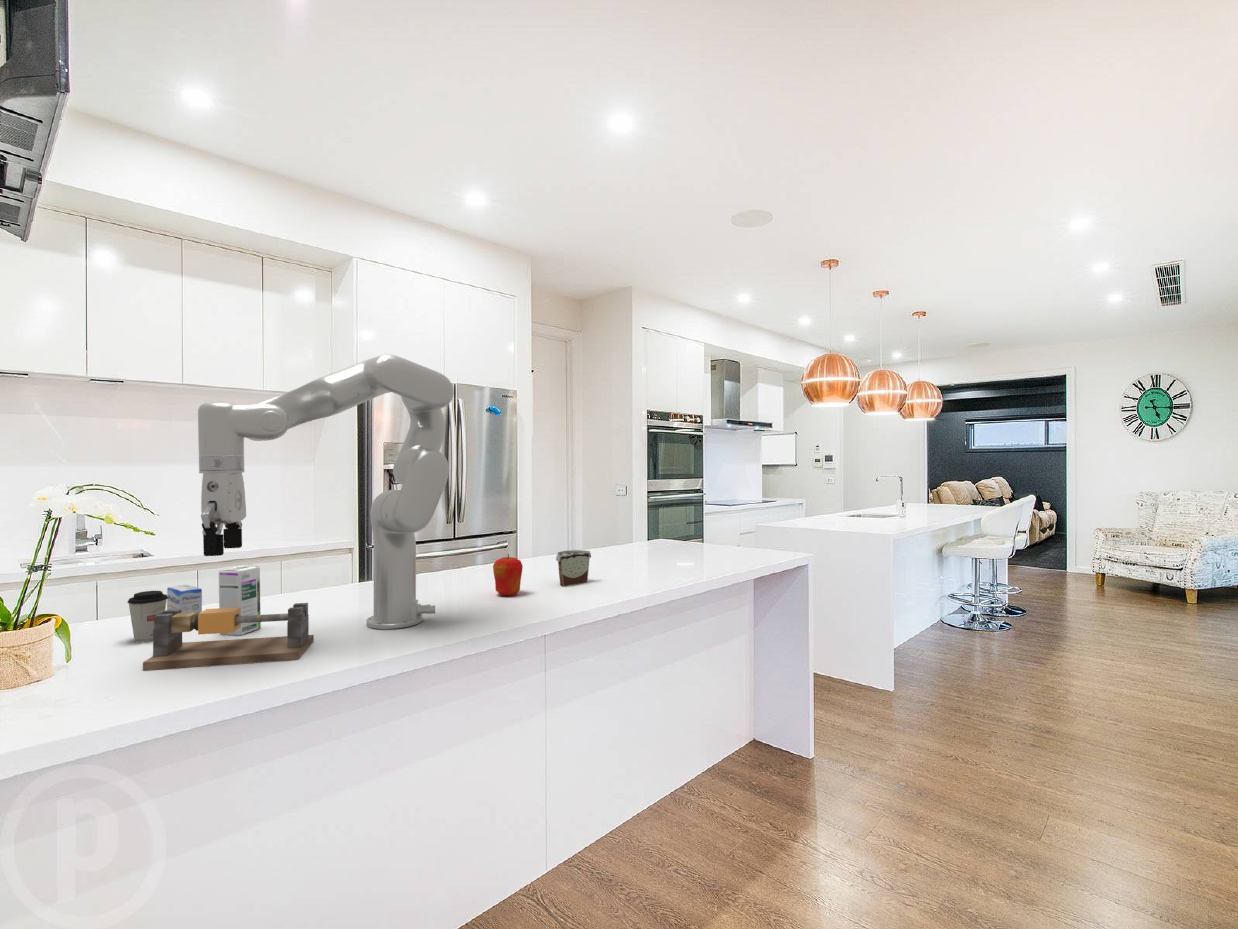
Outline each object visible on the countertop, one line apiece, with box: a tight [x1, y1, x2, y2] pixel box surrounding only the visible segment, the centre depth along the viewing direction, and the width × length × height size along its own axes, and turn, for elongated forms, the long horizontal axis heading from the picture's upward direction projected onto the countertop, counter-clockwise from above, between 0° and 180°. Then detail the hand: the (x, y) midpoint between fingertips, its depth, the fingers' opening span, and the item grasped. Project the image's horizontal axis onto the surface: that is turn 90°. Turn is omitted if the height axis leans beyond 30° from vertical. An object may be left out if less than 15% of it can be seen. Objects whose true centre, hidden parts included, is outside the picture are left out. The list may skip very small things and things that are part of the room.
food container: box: [555, 549, 592, 588], centre depth 190 cm, size 12×6×10 cm, turn 130°
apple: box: [492, 554, 523, 597], centre depth 174 cm, size 9×8×12 cm
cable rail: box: [142, 602, 315, 671], centre depth 120 cm, size 26×12×9 cm, turn 104°
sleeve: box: [197, 607, 241, 635], centre depth 119 cm, size 6×4×4 cm, turn 104°
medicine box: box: [166, 584, 203, 613], centre depth 142 cm, size 8×4×9 cm, turn 56°
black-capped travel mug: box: [127, 590, 168, 643], centre depth 130 cm, size 7×7×10 cm
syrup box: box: [218, 565, 262, 636], centre depth 136 cm, size 6×6×14 cm
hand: (223, 551), depth 120 cm, fingers open, 9 cm apart
